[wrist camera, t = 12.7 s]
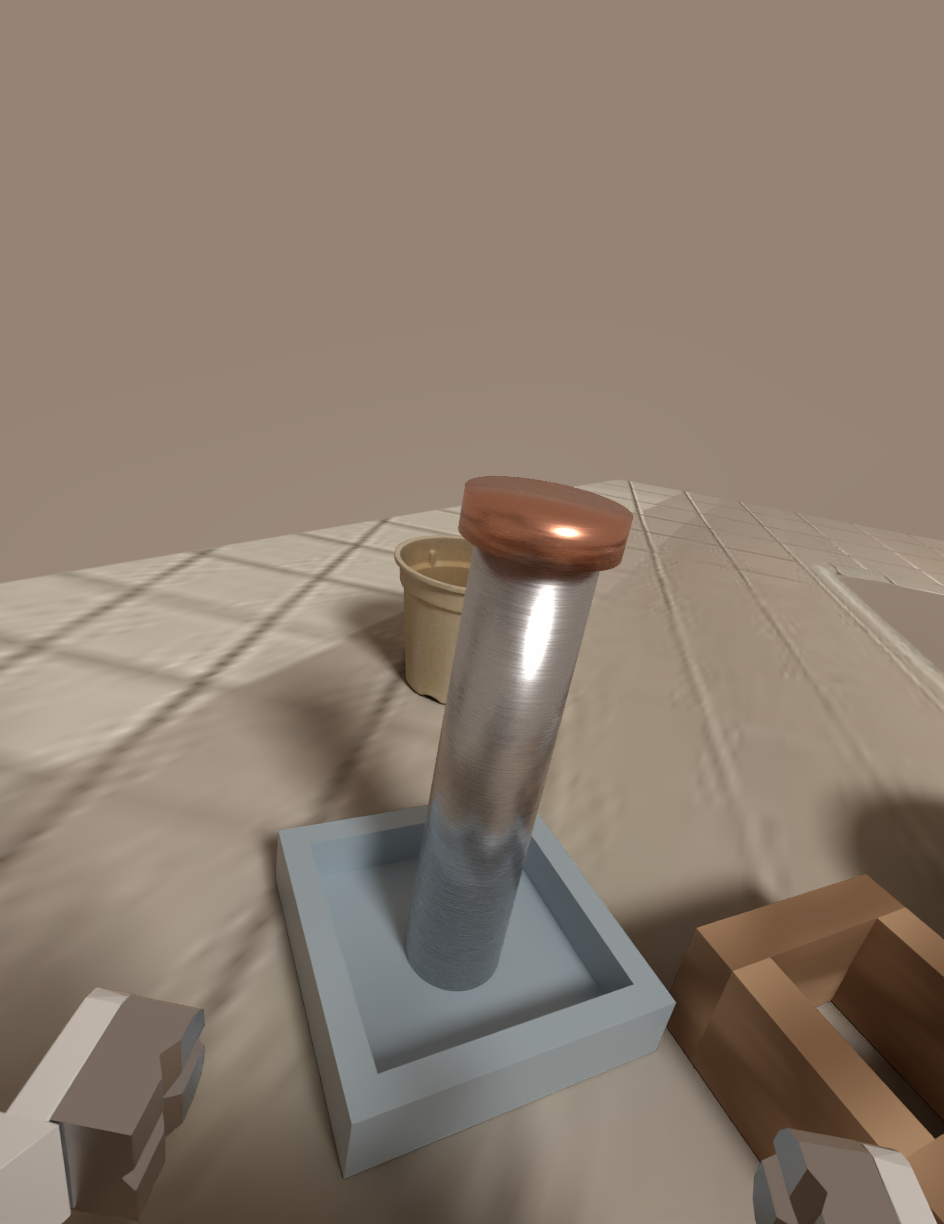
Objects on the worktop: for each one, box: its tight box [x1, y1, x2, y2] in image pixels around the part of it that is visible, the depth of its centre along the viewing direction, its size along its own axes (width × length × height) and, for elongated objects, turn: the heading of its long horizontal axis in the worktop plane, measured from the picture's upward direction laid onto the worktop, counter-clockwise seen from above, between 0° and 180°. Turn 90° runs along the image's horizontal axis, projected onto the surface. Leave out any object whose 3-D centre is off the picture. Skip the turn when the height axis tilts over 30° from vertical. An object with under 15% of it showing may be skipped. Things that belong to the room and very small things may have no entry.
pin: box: [404, 476, 633, 991], centre depth 21 cm, size 5×5×17 cm
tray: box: [276, 805, 676, 1179], centre depth 25 cm, size 11×11×2 cm
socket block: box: [666, 874, 944, 1224], centre depth 22 cm, size 9×9×4 cm
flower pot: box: [394, 535, 473, 704], centre depth 42 cm, size 9×9×9 cm
